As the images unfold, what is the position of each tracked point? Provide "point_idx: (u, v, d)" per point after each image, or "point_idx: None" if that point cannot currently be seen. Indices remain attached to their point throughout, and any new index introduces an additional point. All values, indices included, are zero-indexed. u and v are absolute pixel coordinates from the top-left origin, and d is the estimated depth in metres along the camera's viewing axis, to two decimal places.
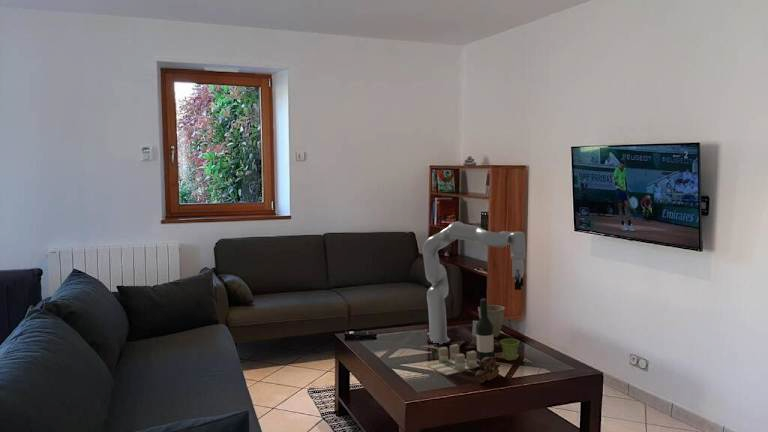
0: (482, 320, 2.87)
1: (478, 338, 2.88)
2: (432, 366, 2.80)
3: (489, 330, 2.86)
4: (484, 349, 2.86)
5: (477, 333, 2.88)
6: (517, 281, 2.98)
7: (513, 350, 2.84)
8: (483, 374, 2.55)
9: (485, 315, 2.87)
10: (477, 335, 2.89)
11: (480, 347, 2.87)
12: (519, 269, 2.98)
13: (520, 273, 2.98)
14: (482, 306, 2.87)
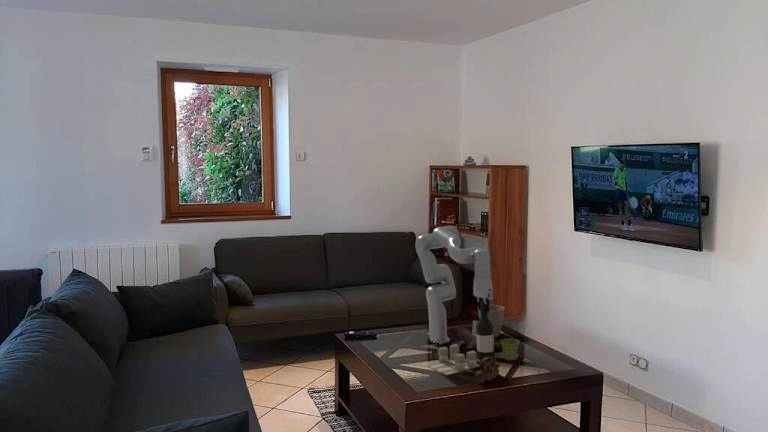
0: (482, 320, 2.87)
1: (478, 338, 2.88)
2: (432, 366, 2.80)
3: (489, 330, 2.86)
4: (484, 349, 2.86)
5: (477, 333, 2.88)
6: (488, 302, 2.85)
7: (513, 350, 2.84)
8: (483, 374, 2.55)
9: (485, 315, 2.87)
10: (477, 335, 2.89)
11: (480, 347, 2.87)
12: (491, 288, 2.84)
13: (492, 292, 2.84)
14: (482, 306, 2.87)
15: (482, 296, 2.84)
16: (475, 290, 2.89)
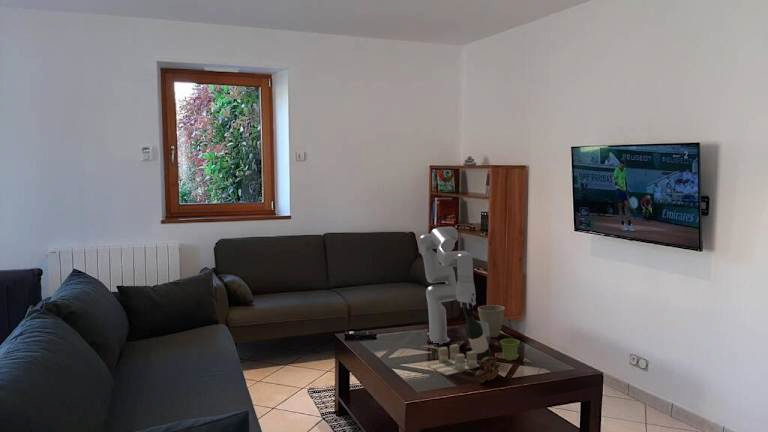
0: (470, 324, 2.83)
1: (471, 341, 2.85)
2: (432, 366, 2.80)
3: (480, 331, 2.83)
4: (481, 350, 2.85)
5: (469, 337, 2.85)
6: (471, 307, 2.80)
7: (513, 350, 2.84)
8: (483, 374, 2.55)
9: (471, 319, 2.83)
10: (469, 339, 2.86)
11: (476, 349, 2.85)
12: (474, 293, 2.79)
13: (475, 297, 2.79)
14: (466, 312, 2.81)
15: (465, 301, 2.79)
16: (458, 295, 2.83)
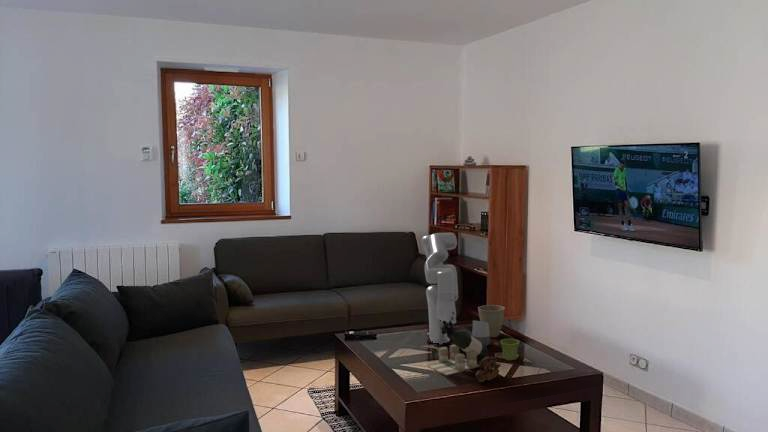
0: (456, 338, 2.79)
1: (465, 350, 2.83)
2: (432, 366, 2.80)
3: (467, 339, 2.80)
4: (477, 352, 2.84)
5: (460, 348, 2.83)
6: (451, 326, 2.74)
7: (513, 350, 2.84)
8: (483, 374, 2.55)
9: (454, 334, 2.78)
10: (462, 349, 2.83)
11: None
12: (454, 311, 2.73)
13: (455, 315, 2.74)
14: (446, 331, 2.76)
15: (445, 319, 2.73)
16: (438, 313, 2.78)
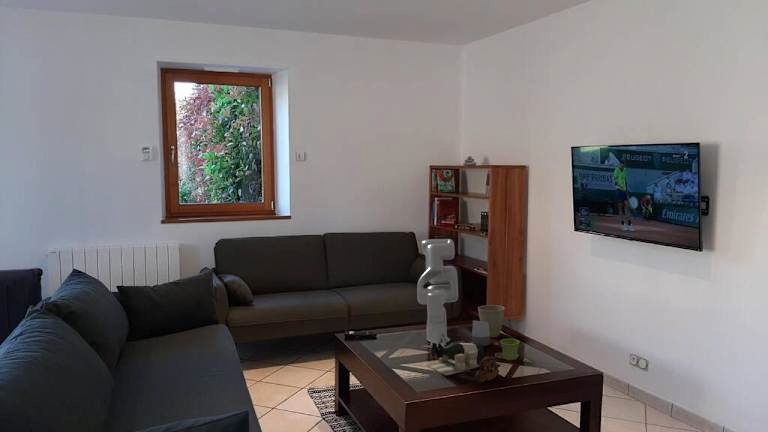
0: (448, 355, 2.77)
1: None
2: (432, 366, 2.80)
3: (460, 351, 2.78)
4: None
5: None
6: (441, 348, 2.72)
7: (513, 350, 2.84)
8: (483, 374, 2.55)
9: (445, 352, 2.76)
10: None
11: None
12: (444, 333, 2.71)
13: (445, 337, 2.71)
14: (436, 354, 2.74)
15: (435, 342, 2.71)
16: (428, 335, 2.76)
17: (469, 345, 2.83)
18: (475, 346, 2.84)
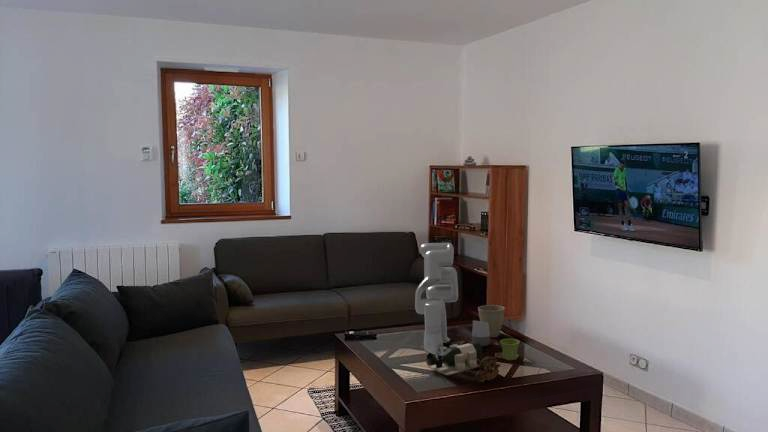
0: (447, 362, 2.77)
1: None
2: (432, 366, 2.80)
3: None
4: None
5: None
6: (440, 358, 2.70)
7: (513, 350, 2.84)
8: (483, 374, 2.55)
9: (443, 360, 2.76)
10: None
11: None
12: (441, 344, 2.70)
13: (442, 348, 2.71)
14: (435, 364, 2.74)
15: (432, 352, 2.71)
16: (425, 345, 2.75)
17: (466, 347, 2.82)
18: (472, 346, 2.83)
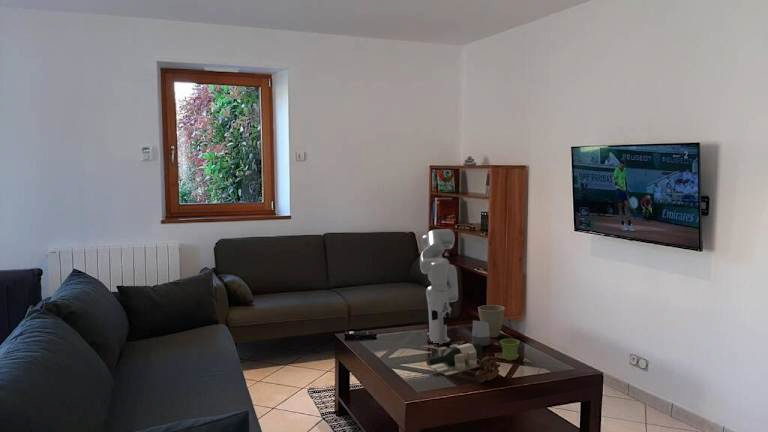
0: (447, 362, 2.77)
1: None
2: (432, 366, 2.80)
3: None
4: None
5: None
6: (448, 315, 2.73)
7: (513, 350, 2.84)
8: (483, 374, 2.55)
9: (443, 360, 2.76)
10: None
11: None
12: (447, 302, 2.74)
13: None
14: (435, 364, 2.74)
15: (438, 310, 2.75)
16: (432, 303, 2.79)
17: (466, 347, 2.82)
18: (472, 346, 2.83)
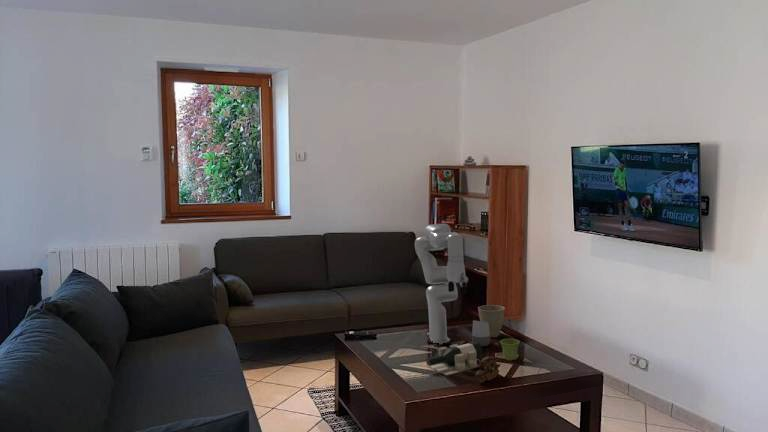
0: (447, 362, 2.77)
1: None
2: (432, 366, 2.80)
3: None
4: None
5: None
6: (464, 285, 2.84)
7: (513, 350, 2.84)
8: (483, 374, 2.55)
9: (443, 360, 2.76)
10: None
11: None
12: (464, 272, 2.85)
13: None
14: (435, 364, 2.74)
15: (455, 280, 2.85)
16: (448, 275, 2.90)
17: (466, 347, 2.82)
18: (472, 346, 2.83)
